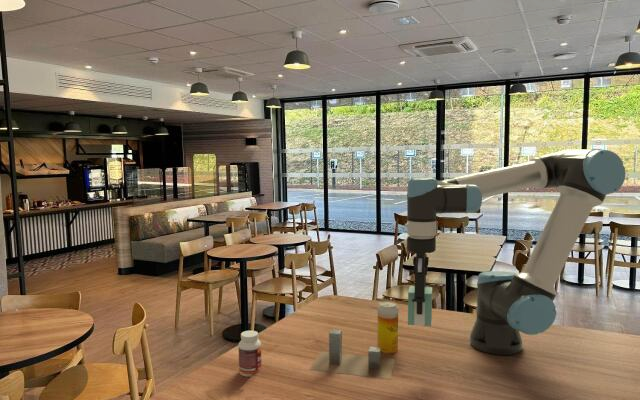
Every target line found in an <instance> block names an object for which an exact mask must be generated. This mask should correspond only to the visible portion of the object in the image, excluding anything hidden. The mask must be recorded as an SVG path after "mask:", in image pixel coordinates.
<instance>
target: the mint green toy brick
mask: <svg viewBox="0 0 640 400" xmlns="http://www.w3.org/2000/svg"><path fill="white" fill-rule="evenodd" d="M407 293H408V295H407V296H408V297H407V301H408V302H407V304H408V305H407V325H408V326H415V325H414V302H412V299H414V298H415V285H410V286H409V288H408V292H407ZM432 310H433V287H431V286H429V287H428V286H426V287H425V326H424V327H432V319H433V318H432V316H433V315H432V313H433V311H432Z"/></svg>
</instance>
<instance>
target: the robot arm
mask: <svg viewBox="0 0 640 400" xmlns="http://www.w3.org/2000/svg"><path fill="white" fill-rule="evenodd" d="M625 179H626V166H624V161H623V160H622V158H621V157H620V156H619V155H618V154H617V153H615V152H614V151H612V150H608V149H602V148H593V149H592V148H591V149H590V148H589V149H588V148H586V149H582V148H581V149H579V148H578V149H577V148H571V149H570V148H569V149H564V150H559V151H556V152H552V153H548V154H544V155H540V156H537V157H532V158H531V159H530V160H529V161H528V162H524V163H520V164H515V165H510V166H505V167H501V168H495V169H491V170H486V171H481V172H477V173H471V174H467V175H461V176H458V177H453V178H448V179H442V180H439V179H436V178H434V177H412V178H410V179H409V180H408V181H407V188H406V189H407V192H406V202H407V205H406V209H407V211H406V212H407V213H406V214H407V217H406V218H407V220H406V221H407V222H406V223H404V227H406V233H407V235H408V236H407V238H406V250H407V251H408V252H410V253H415V254H416V255H415V256H413V258H412V265H413V275H414V286H415V298H414V299H412V302H414V325H413V326H419V327H420V326H421V327H426V326H425V287H427V275H428V270H429V269H428V268H429V267H428V266H429V257H428V255H427V254H431V253H434V252H435V251H436V248H437V247H436V246H437V239H436V237H435V236H437V214H469V213H476V212H478V211H479V210H480V209H481V207H482V205H483V199H484V198H486V197H487V198H488V197H493V196H497V195H502V194H506V193H507V194H508V193H512V192H516V191H521V190H522V191H523V190H526V189H530V188H535V189H538V190H543V189H547V188H557V189H558V192H559V197H558V199H557V202H556V204H555V205H554V208H553V210H552V211H551V214H550V216H549V218H548V219H547V222H546V224H545V226H544V228H543V230H542V232H541V234H540V235H539V238H538V239H537V241H536V244H535V246H534V248H533V250H532V252H531V254H530V256H529V258H528V260H527V261H526V264H525V266H524V268H523V270H522V271H520V272H518V273H516V272H513V271H504V270H500V271H499V270H490V271H483V272H480V273H479V274H478V276H477V282H476V285H477V288H476V289H477V290H476V291H477V292H476V318H475V322H474V323H473V326H472V328H471V331H470V334H469V343H470V345H471V346H472V347H473V348H474V349H476V350H479V351H480V352H483V353H487V354H491V355H498V356H510V355H511V356H512V355H515V354H518V353H521V351H522V350H523V340H522V337H521V333H522V334H525V335H529V336H534V335H535V336H536V335H538V334H540V333H541V334H543V333H544V332H547V330H549V329H550V327H551V326H553V324H554V322H555V320H556V318H557V310H556V308H557V307H556V305H555V303H554V300H555V298H556V296H557V292H556V289H555V284H556V282H557V280H558V278H559V276H560V274H561V273H562V270H563V268H564V267H565V264H566V262H567V261H568V258H569V256H570V254H571V252H572V251H573V248H574V247H575V245H576V242H577V240H578V239H579V236H580V234H581V232H582V230H583V229H584V226H585V225H586V222H587V221H588V218H589V216H590V214H591V213H592V210H593V209H594V208H596V207H598V206H600V205H603V203H604V200H605V198H606V197H607V195H610V194H614V193H615V192H618V191H619V190H620V189H621V188H622V186H623V184H624V183H625V181H626V180H625ZM520 332H521V333H520Z"/></svg>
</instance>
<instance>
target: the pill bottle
mask: <svg viewBox="0 0 640 400" xmlns="http://www.w3.org/2000/svg"><path fill="white" fill-rule="evenodd" d="M240 339H241V340H240V341H239V342H238V372H239V374H240V375H241V376H242V377H246V378H249V377H252V376H253V375H254V374H255V373H258V372H260V371H261V369H262V343H261V340H260V339H259V332H258V331H256V330H245V331H242V332H241V333H240Z"/></svg>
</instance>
